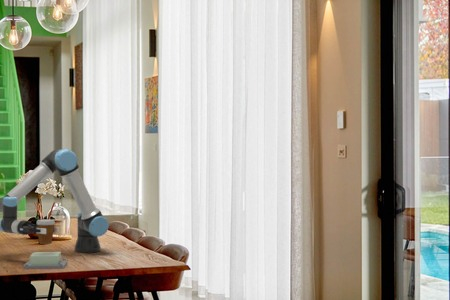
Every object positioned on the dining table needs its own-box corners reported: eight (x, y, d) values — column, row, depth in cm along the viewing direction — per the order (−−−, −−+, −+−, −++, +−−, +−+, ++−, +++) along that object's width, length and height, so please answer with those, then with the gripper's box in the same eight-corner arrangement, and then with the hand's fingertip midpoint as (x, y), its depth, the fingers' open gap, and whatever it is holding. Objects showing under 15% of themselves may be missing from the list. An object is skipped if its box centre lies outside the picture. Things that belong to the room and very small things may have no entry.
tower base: (67, 262, 412) (67, 250, 412) (63, 268, 392) (63, 256, 392) (28, 262, 410) (29, 251, 409) (23, 268, 390) (23, 257, 390)
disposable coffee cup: (45, 245, 394) (45, 221, 394) (32, 243, 399) (32, 220, 399) (58, 243, 402) (59, 220, 402) (45, 241, 407) (45, 218, 407)
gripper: (37, 232, 419) (66, 235, 407) (6, 236, 402) (36, 239, 389) (37, 218, 419) (67, 221, 406) (6, 221, 402) (36, 225, 389)
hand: (52, 230), depth 398 cm, fingers closed on disposable coffee cup, 8 cm apart
